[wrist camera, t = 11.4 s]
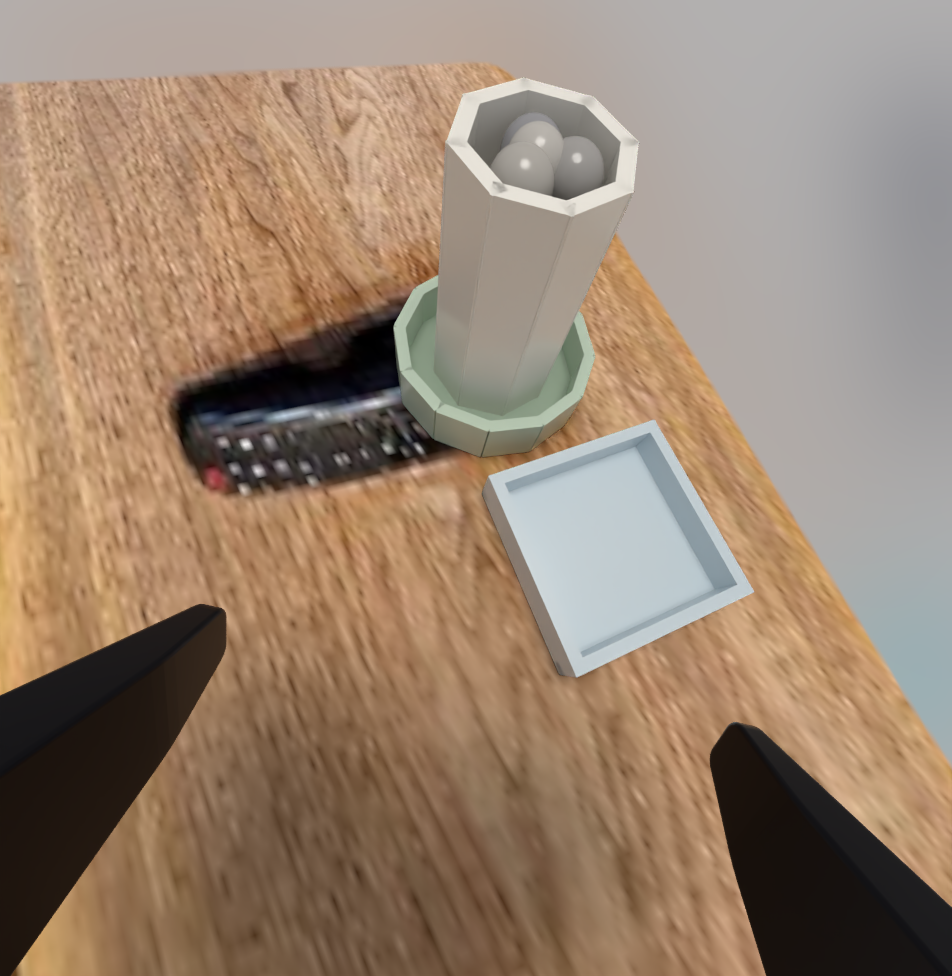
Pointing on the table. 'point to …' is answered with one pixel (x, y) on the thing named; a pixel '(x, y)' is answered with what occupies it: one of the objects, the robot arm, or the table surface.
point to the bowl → (474, 426)
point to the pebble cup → (522, 234)
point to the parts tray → (611, 546)
